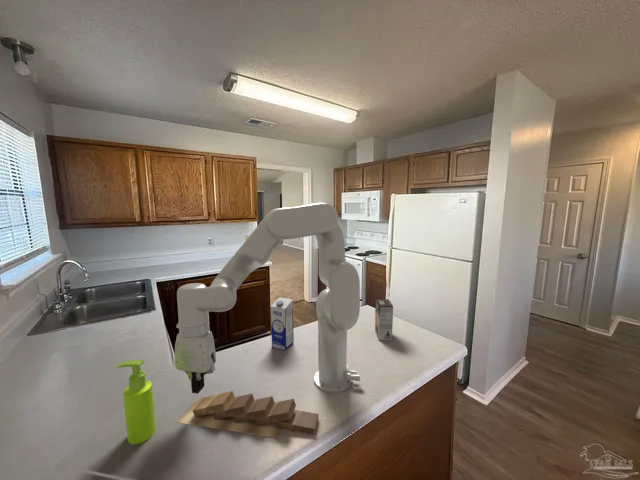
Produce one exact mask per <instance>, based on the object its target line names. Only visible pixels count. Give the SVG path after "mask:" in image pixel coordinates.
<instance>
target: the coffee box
mask: <svg viewBox="0 0 640 480" xmlns="http://www.w3.org/2000/svg"><path fill="white" fill-rule="evenodd" d="M374 310H375V311H374V313H375V315H374V332H375V334H377V335H376V337H377V339H378V341H393V323H394V321H393V317H394V305H393V304H392V302H391V300H390V299H389V298H388V299H387V298H383V299H382V298H380V299H375V309H374Z"/></svg>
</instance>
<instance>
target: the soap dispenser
mask: <svg viewBox="0 0 640 480" xmlns="http://www.w3.org/2000/svg"><path fill="white" fill-rule="evenodd" d="M144 363H145V360H143V359H142V360H141V359H134V360H133V359H132V360H131V359H130V360H126V361H123V362H121V363H120V364H118V365H117V366H116V368H117V369H120V368H131V371H132V373H131V374H129V376H128V383H129V385H128V386H127V387H125V389H124V390H123V401H124V402H123V403H124V413H125V415H124V416H125V425H126V427H125V428H126V435H127V438H126V439H127V443H129V444H130V445H138V444H142V443H143V442H146V441H147V440H149V439H151V437H152V436H153V435H154V434H155V432H156V421H155V408H154V407H155V406H154V395H153V394H154V393H153V384H152V383H153V382H151V381H150V380H146V373H145V370H141V367H142V365H143V364H144Z"/></svg>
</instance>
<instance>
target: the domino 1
mask: <svg viewBox="0 0 640 480" xmlns="http://www.w3.org/2000/svg"><path fill="white" fill-rule="evenodd" d="M235 397H236V396H235V395H234V391H233V390H231V391H226V392H222V393H218V394H214V395H210V396H205V398H203V399H202V400H201V401H200V402H199V404H198V405H197V406H196V407H195V408H194V409H193V410H192V411H193V413H194V416H195V417H197V416H202V415H206V414H211V413H216V412H220V411H225V410H226V409H227V408H228V406H229V405H230V404H231V402H232V401H233V399H234V398H235Z"/></svg>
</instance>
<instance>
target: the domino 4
mask: <svg viewBox="0 0 640 480" xmlns="http://www.w3.org/2000/svg"><path fill="white" fill-rule="evenodd" d="M296 407H297V404H296V401H295V399H294V398H291V399H286V400H281V401H278V402H275V403H274V405H273V407H272V409H271V411H270V413H269V415H268V416H267V417H262V418H257V419H254V420H255V422H256V425H257V426H260V425H265V424H270V423H275V422H280V421H285V420H290V419H291V418H292V415H293V412H294V410H296Z"/></svg>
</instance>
